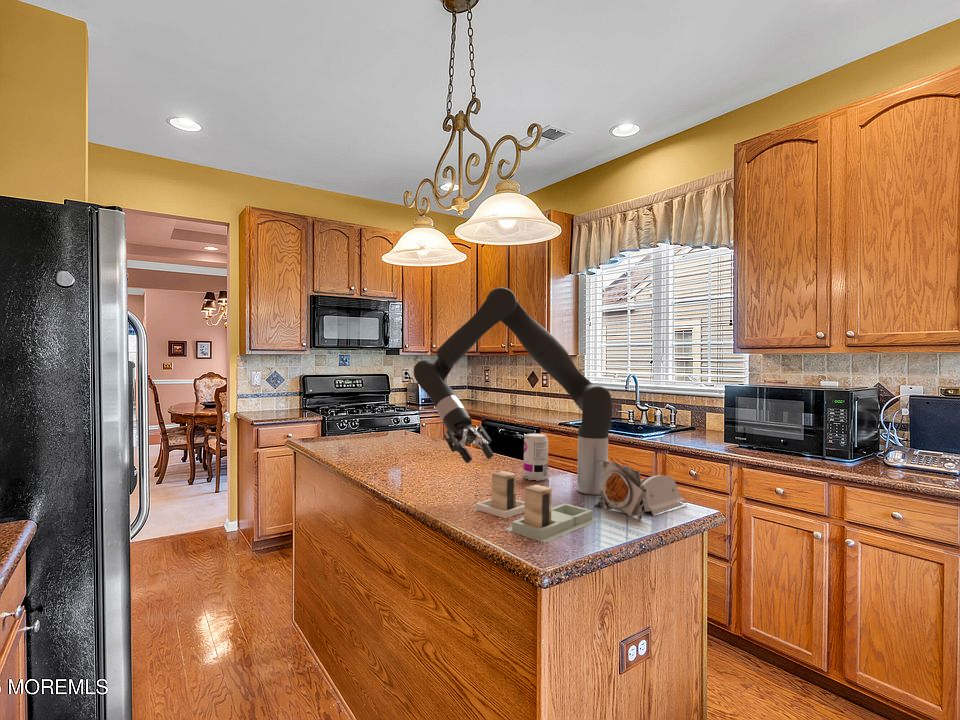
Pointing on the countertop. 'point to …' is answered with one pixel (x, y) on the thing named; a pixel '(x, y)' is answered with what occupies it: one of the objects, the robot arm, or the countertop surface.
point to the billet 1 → (504, 490)
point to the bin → (487, 507)
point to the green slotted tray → (556, 523)
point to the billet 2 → (537, 506)
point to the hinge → (660, 494)
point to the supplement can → (535, 457)
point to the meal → (621, 489)
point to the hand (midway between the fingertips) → (480, 459)
